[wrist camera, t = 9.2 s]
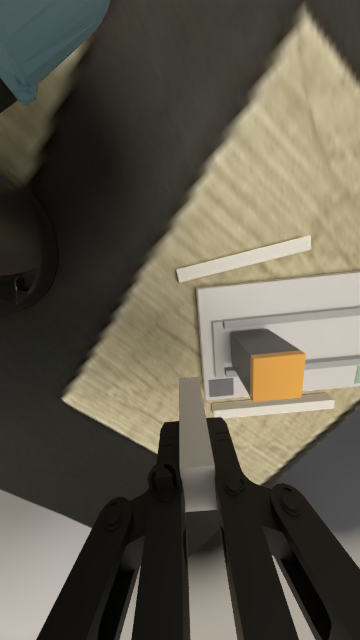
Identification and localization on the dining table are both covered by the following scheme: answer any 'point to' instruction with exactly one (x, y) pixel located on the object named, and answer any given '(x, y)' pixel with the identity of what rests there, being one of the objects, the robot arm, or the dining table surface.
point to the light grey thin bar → (244, 259)
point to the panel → (283, 327)
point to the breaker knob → (267, 365)
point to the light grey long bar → (272, 406)
